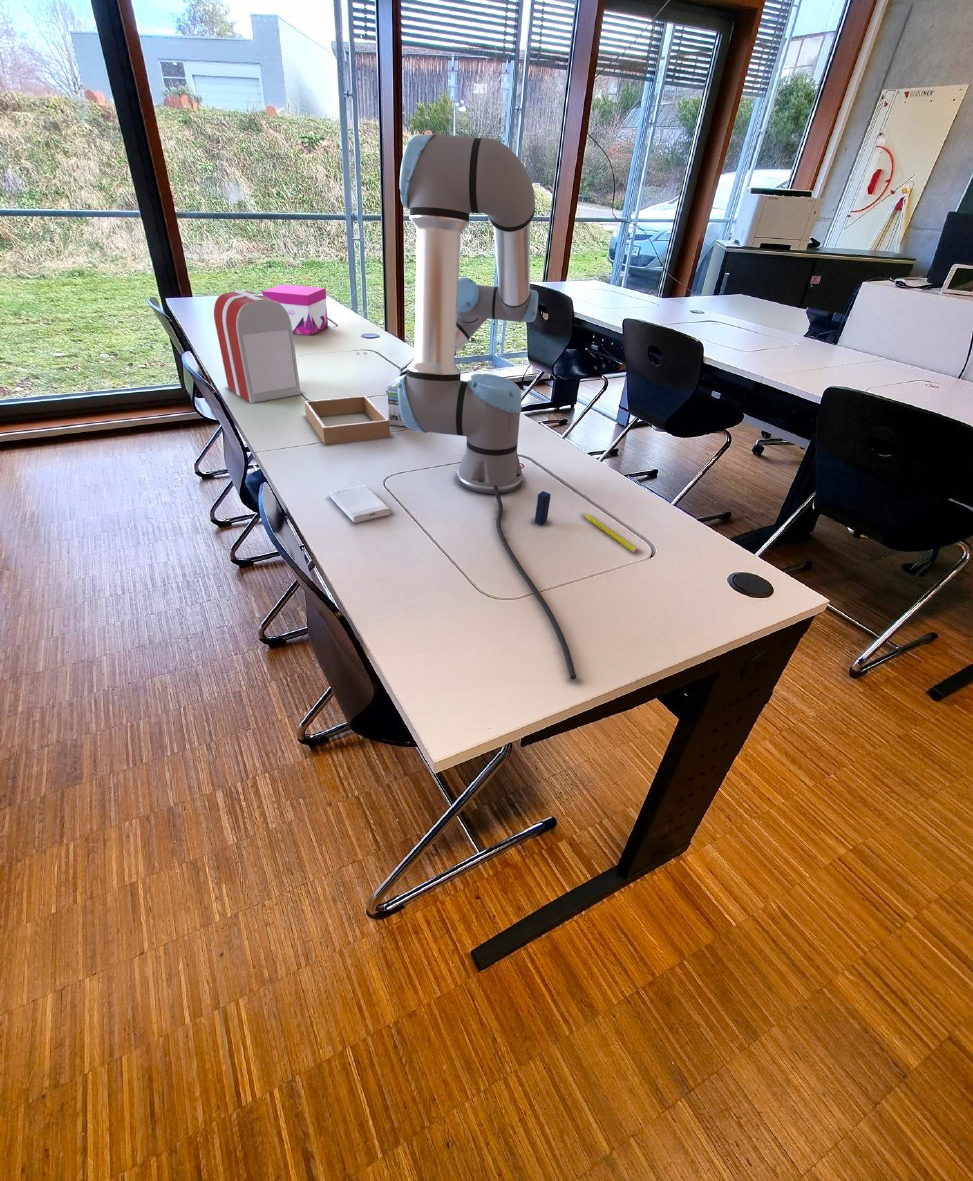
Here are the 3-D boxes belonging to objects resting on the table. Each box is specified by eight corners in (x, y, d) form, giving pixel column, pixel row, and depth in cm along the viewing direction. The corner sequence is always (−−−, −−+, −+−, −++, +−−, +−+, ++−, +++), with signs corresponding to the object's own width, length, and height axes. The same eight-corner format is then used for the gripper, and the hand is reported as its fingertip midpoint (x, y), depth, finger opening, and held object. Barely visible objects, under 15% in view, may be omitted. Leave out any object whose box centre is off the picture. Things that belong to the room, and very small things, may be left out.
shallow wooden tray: (390, 436, 156) (389, 420, 154) (324, 445, 149) (322, 428, 147) (366, 410, 172) (365, 395, 169) (306, 417, 165) (304, 401, 162)
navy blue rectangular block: (539, 519, 124) (543, 489, 120) (547, 522, 123) (551, 493, 119) (533, 522, 122) (536, 493, 118) (541, 526, 121) (545, 496, 117)
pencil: (637, 552, 115) (638, 548, 114) (633, 553, 115) (634, 549, 114) (585, 515, 126) (586, 511, 126) (582, 516, 126) (582, 512, 125)
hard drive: (329, 491, 125) (353, 516, 117) (365, 484, 129) (390, 507, 121) (330, 498, 126) (353, 523, 118) (365, 491, 130) (390, 514, 122)
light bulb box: (411, 427, 162) (410, 388, 156) (387, 424, 163) (386, 386, 157) (421, 415, 171) (421, 378, 165) (400, 412, 172) (398, 375, 165)
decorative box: (268, 331, 242) (262, 291, 233) (288, 322, 258) (283, 284, 249) (311, 335, 240) (307, 295, 232) (329, 326, 256) (325, 288, 247)
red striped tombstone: (250, 403, 171) (231, 302, 155) (226, 387, 181) (206, 291, 166) (302, 394, 180) (289, 298, 165) (276, 379, 191) (262, 287, 175)
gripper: (475, 364, 154) (422, 425, 157) (438, 341, 172) (392, 397, 174) (457, 344, 149) (403, 408, 152) (421, 323, 166) (373, 380, 169)
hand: (397, 402), depth 163 cm, fingers open, 13 cm apart
